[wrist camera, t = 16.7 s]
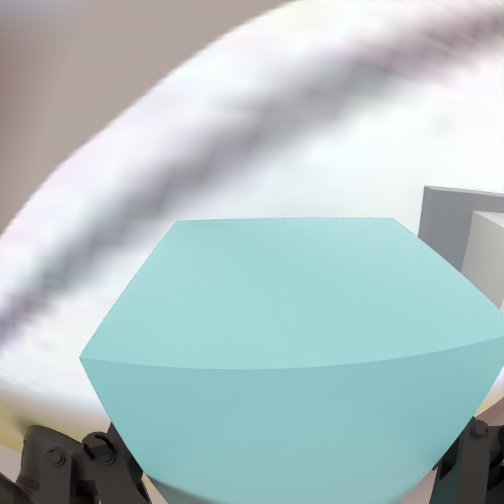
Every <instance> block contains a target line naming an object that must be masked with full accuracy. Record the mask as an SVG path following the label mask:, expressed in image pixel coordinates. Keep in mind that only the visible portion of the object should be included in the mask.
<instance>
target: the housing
mask: <svg viewBox="0 0 504 504" xmlns="http://www.w3.org/2000/svg"><path fill="white" fill-rule="evenodd" d="M418 238H419V239H421V240H422V241H423V242H424V243H426V244H427V245H428V246H429V247H430V248H432V249H433V250H434V251H435V252H436V253H438V254H439V255H440V256H441V257H442V258H444V259H445V260H446V261H447V262H448V263H449V264H451V265H452V266H453V267H454V268H455V269H456V270H457V271H459V272H460V273H461V274H462V275H463V276H464V277H465V278H466V279H468V280H469V281H470V282H471V283H472V284H473V285H474V286H475V287H476V288H477V289H478V290H479V291H481V292H482V293H483V294H484V295H485V296H486V297H487V298H488V299H489V300H490V301H491V302H492V303H493V304H494V305H495V306H496V307H497V308H498V309H499V310H500V311H501V312H502V313H503V314H504V194H499V193H492V192H483V191H475V190H466V189H456V188H445V187H434V186H424V196H423V205H422V214H421V221H420V228H419V235H418Z"/></svg>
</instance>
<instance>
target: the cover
mask: <svg viewBox="0 0 504 504" xmlns="http://www.w3.org/2000/svg"><path fill="white" fill-rule="evenodd" d="M79 358H80V360H81V362H82V365H83V367H84V369H85V371H86V373H87V375H88V377H89V380H90V382H91V384H92V386H93V388H94V390H95V392H96V393H97V395H98V397H99V399H100V401H101V403H102V405H103V407H104V409H105V410H106V412H107V414H108V416H109V417H110V419H111V421H112V423H113V424H114V426H115V428H116V430H117V431H118V433H119V434H120V436H121V438H122V439H123V441H124V443H125V444H126V446H127V447H128V449H129V450H130V452H131V453H132V455H133V456H134V458H135V459H136V461H137V462H138V464H139V465H140V467H141V468H142V470H143V471H144V472H145V474H146V475H147V477H148V478H149V479H150V481H151V482H152V483H153V485H154V486H155V487H156V489H157V490H158V491H159V492H160V494H161V495H162V496H163V498H164V499H165V500H166V501H167V503H168V504H398V502H400V501H401V500H402V499H403V498H404V497H405V496H406V495H407V494H408V493H409V492H410V491H411V490H412V489H413V488H414V487H415V486H416V485H417V484H418V483H419V482H420V481H421V480H422V479H423V478H424V476H425V475H426V474H427V473H428V472H429V471H430V470H431V469H432V468H433V467H434V465H435V464H436V463H437V462H438V461H439V460H440V458H441V457H442V456H443V455H444V454H445V452H446V451H447V450H448V449H449V447H450V446H451V445H452V444H453V442H454V441H455V440H456V439H457V437H458V436H459V435H460V433H461V432H462V431H463V429H464V428H465V426H466V425H467V424H468V422H469V421H470V419H471V418H472V416H473V415H474V414H475V412H476V411H477V409H478V408H479V406H480V405H481V403H482V401H483V400H484V398H485V397H486V395H487V393H488V392H489V390H490V388H491V387H492V385H493V383H494V382H495V380H496V378H497V376H498V375H499V373H500V371H501V369H502V367H503V365H504V314H503V313H502V312H501V311H500V310H499V309H498V308H497V307H496V306H495V305H494V304H493V303H492V302H491V301H490V300H489V299H488V298H487V297H486V296H485V295H484V294H483V293H482V292H481V291H479V290H478V289H477V288H476V287H475V286H474V285H473V284H472V283H471V282H470V281H469V280H468V279H466V278H465V277H464V276H463V275H462V274H461V273H460V272H459V271H457V270H456V269H455V268H454V267H453V266H452V265H451V264H449V263H448V262H447V261H446V260H445V259H444V258H442V257H441V256H440V255H439V254H438V253H436V252H435V251H434V250H433V249H432V248H430V247H429V246H428V245H427V244H426V243H424V242H423V241H422V240H421V239H419V238H418V237H417V236H416V235H414V234H413V233H412V232H410V231H409V230H408V229H407V228H405V227H404V226H403V225H401V224H400V223H399V222H398V221H396V220H395V219H394V218H262V219H221V220H191V221H176V223H175V224H174V225H173V226H172V228H171V229H170V230H169V231H168V233H167V234H166V235H165V236H164V238H163V239H162V240H161V242H160V243H159V244H158V245H157V247H156V248H155V249H154V251H153V252H152V253H151V255H150V256H149V257H148V259H147V260H146V261H145V263H144V264H143V265H142V267H141V268H140V269H139V271H138V272H137V273H136V275H135V276H134V277H133V279H132V280H131V281H130V283H129V284H128V286H127V287H126V288H125V290H124V291H123V293H122V294H121V295H120V297H119V298H118V300H117V301H116V302H115V304H114V305H113V307H112V308H111V310H110V311H109V313H108V314H107V315H106V317H105V318H104V320H103V321H102V323H101V324H100V326H99V327H98V329H97V330H96V332H95V333H94V335H93V336H92V338H91V339H90V341H89V342H88V344H87V345H86V347H85V348H84V350H83V352H82V353H81V355H80V356H79Z"/></svg>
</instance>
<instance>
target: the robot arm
mask: <svg viewBox="0 0 504 504" xmlns="http://www.w3.org/2000/svg"><path fill="white" fill-rule="evenodd" d="M23 444H24V446H23V451H22V458H21V470H20V473H19V476H18V478H17V480H16V482H15V483H14V482H12V481H11V480H10V479H8V478H7V477H6V476H5V475H3V474H2V473H1V472H0V504H99V502H101V504H152V502H151V500H150V497H149V495H148V493H147V490H146V488H145V485H144V483H143V481H142V480H141V478H142V475H143V470H142V468H141V467H140V465H139V464H138V462H137V461H136V459H135V458H134V456H133V455H132V453H131V452H130V450H129V449H128V447H127V446H126V444H125V443H124V441H123V439H122V438H121V436H120V434H119V433H118V431H117V430H116V428H115V426H114V424H113V423H112V422H111V424H110V427H109V429H108V432H107V433H104V432H93V433H90V434H88V435H87V436H86V437H85V438H84V439H83V440H82V442H81V444H79V443H77V442H76V441H74V440H72V439H70V438H68V437H66V436H64V435H62V434H60V433H58V432H56V431H53V430H51V429H48V428H45V427H41V426H31V427H29V429H28V431H27V433H26V434H25V436H24V440H23ZM503 460H504V425H503V426H488V425H487V424H486V423H485V422H484V421H481V420H476V419H475V418H474V416H472V418H471V419H470V421H469V422H468V424H467V425H466V426H465V428H464V429H463V431H462V432H461V433H460V435H459V436H458V437H457V439H456V440H455V441H454V442H453V444H452V445H451V446H450V447H449V449H448V450H447V451H446V452H445V454H444V455H443V456H442V457H441V458H440V460H439V461H438V462H437V463H436V464H435V465H434V467H433V469H432V470H435V469H436V468H437V467H438V469H437V474H436V478H435V482H434V487H433V491H432V494H431V499H430V502H429V504H504V462H503ZM144 473H145V472H144Z"/></svg>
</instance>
